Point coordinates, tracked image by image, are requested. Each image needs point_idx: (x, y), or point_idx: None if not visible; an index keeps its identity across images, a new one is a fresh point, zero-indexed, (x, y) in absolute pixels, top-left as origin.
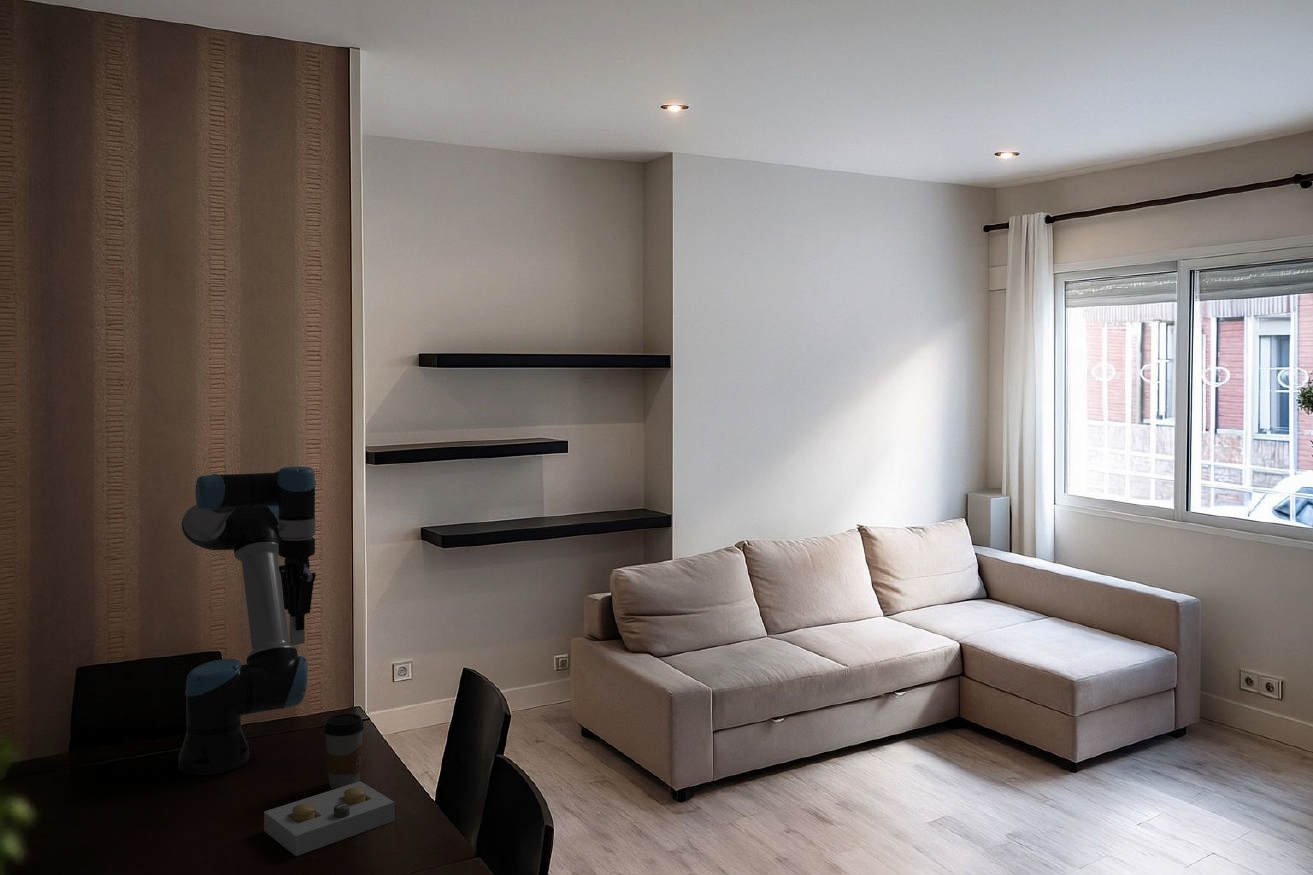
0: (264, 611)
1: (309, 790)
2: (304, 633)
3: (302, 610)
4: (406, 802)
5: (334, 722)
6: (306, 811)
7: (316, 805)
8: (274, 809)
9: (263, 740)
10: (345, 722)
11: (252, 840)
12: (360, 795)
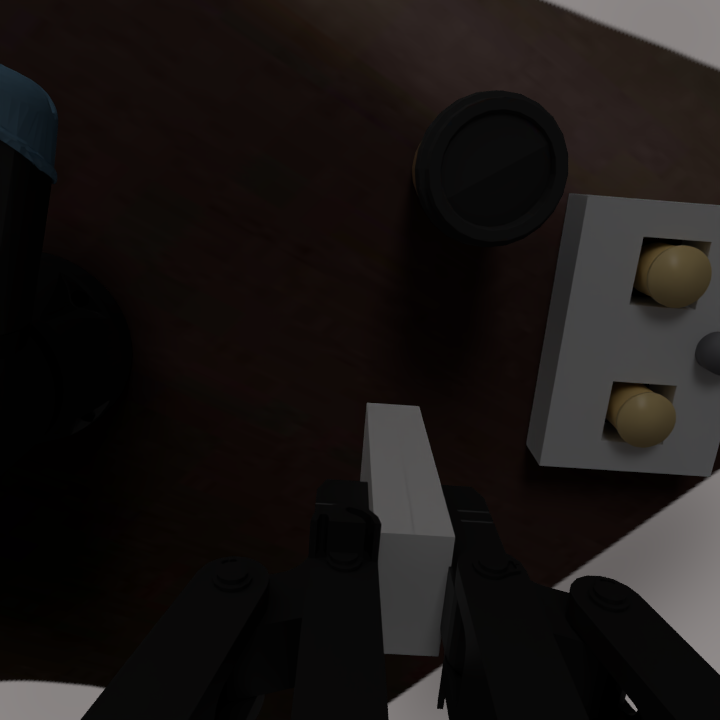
0: None
1: (410, 258)
2: (426, 438)
3: (622, 695)
4: (693, 113)
5: (471, 204)
6: (668, 427)
7: (616, 365)
8: (549, 444)
9: None
10: (512, 176)
11: (545, 479)
12: (709, 279)
